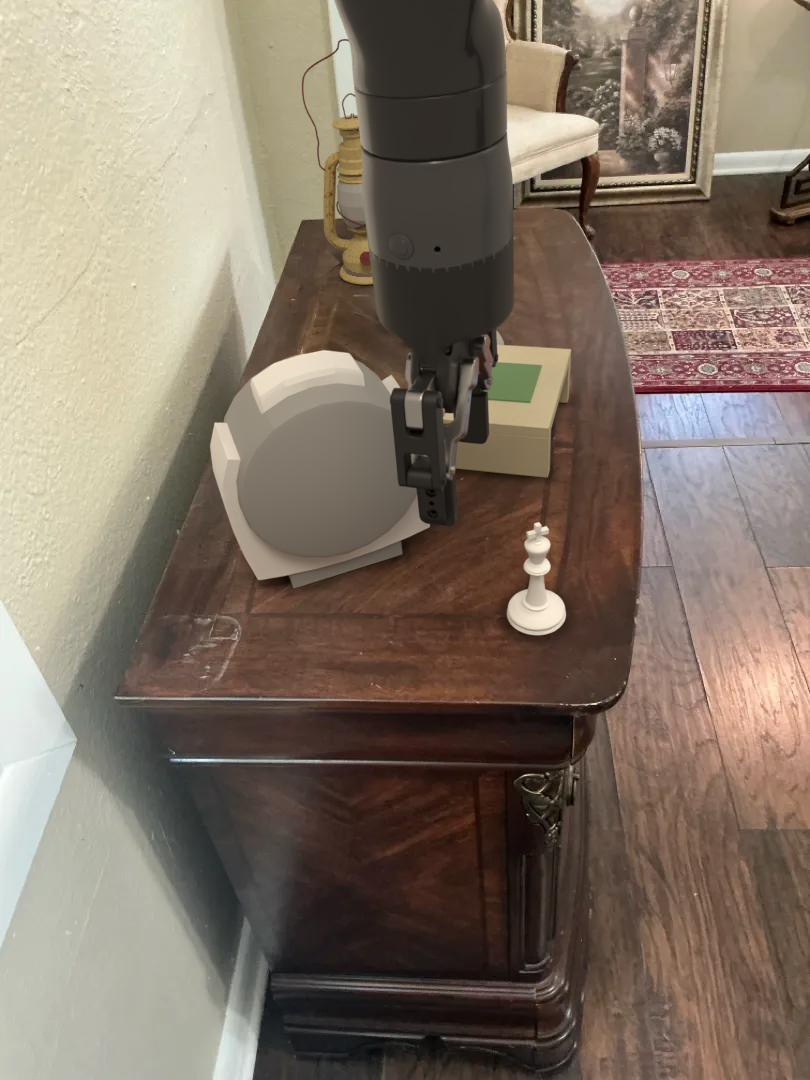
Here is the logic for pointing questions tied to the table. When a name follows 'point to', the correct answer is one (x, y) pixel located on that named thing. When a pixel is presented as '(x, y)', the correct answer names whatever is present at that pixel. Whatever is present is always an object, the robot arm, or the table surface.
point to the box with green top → (520, 412)
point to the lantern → (346, 194)
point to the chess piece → (536, 591)
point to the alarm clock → (313, 469)
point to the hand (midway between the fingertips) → (456, 478)
